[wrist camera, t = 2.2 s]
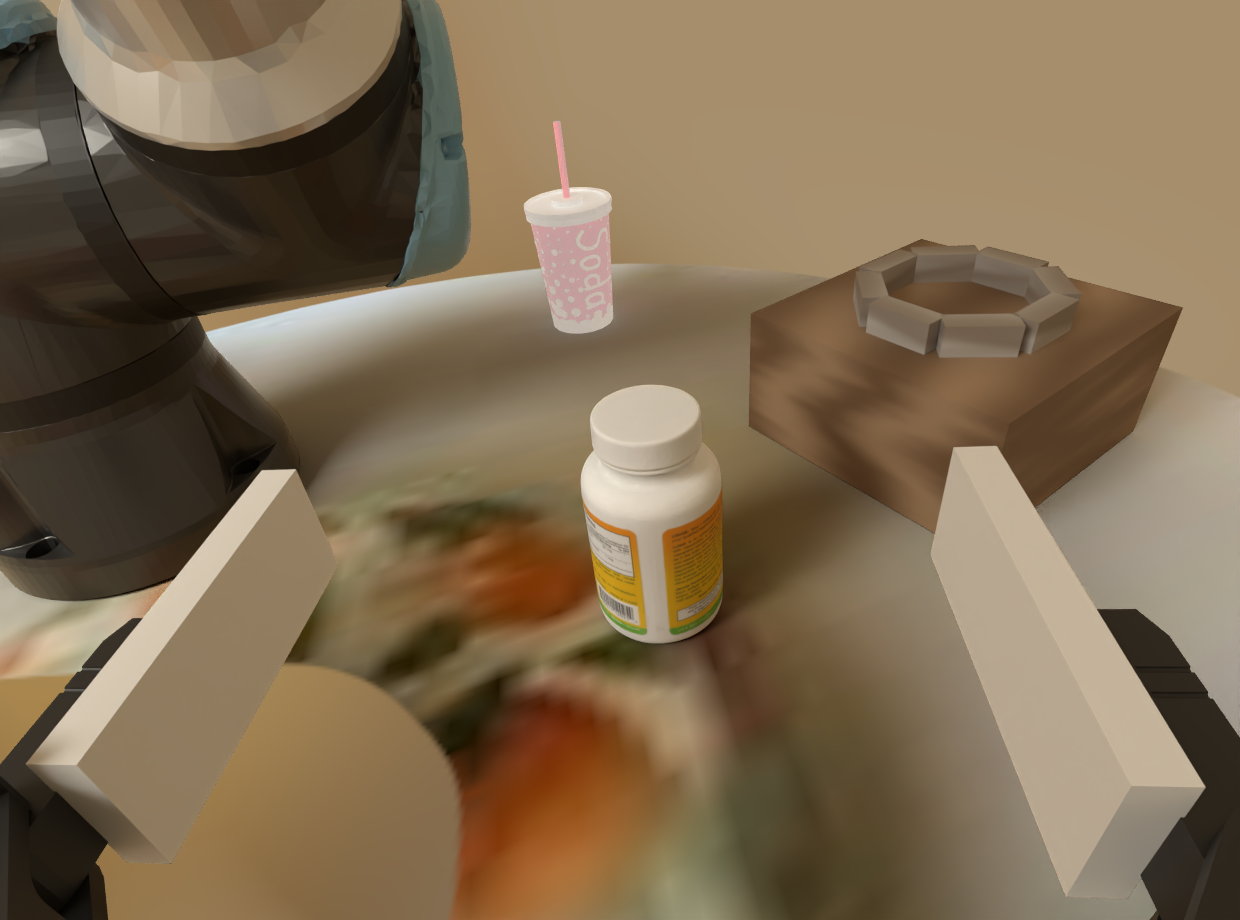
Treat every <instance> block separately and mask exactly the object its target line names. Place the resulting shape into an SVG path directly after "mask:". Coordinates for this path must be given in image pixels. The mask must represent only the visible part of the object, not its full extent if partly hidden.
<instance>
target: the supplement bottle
mask: <svg viewBox="0 0 1240 920" xmlns="http://www.w3.org/2000/svg"><path fill="white" fill-rule="evenodd" d="M590 424H591V435H592V445H593V448H594V451H593V452H592V453H591V454H590V456H589V457H588V459H587V460H586V462H585V464H584V467H583V469H582V473H581V492H582V499H583V505H584V510H585V517H586V523H587V529H588V536H589V542H590V548H591V554H592V560H593V567H594V573H595V579H596V585H597V591H598V597H599V601H600V606H601V609H602V611H603V613H604V615H605V617H606V619H607V620H608V621H609V623H610V624H611V625H612V626H613V627H614V628H615V629H616V630H617V631H619V632H620V633H622V634H623V635H625V636H627V637H629V638H631V639H634V640H637V641H641V642H645V643H670V642H675V641H679V640H683V639H686V638H688V637H690V636H693V635H694V634H696V633H698V632H700V631H701V630H702V629H704V628H705V627H706V626H707V625H708V624H710V622H711V621H712V620H713V619H714V617H715V616H716V614H717V613H718V610H719V608H720V605H721V602H722V593H723V555H722V481H721V471H720V467H719V463H718V461H717V459H716V457H715V456H714V454H713V453H712V451H711V450H710V449H709V448H708V447H707V446H706V445H705V444H704V443H703V442H702V421H701V410H700V407H699V404H698V402H697V401H696V399H695V398H694V397H692V396H691V395H690V394H688V393H687V392H685V391H683V390H681V389H678V388H674V387H670V386H664V385H639V386H632V387H628V388H624V389H621V390H618V391H616V392H614V393H611V394H610V395H608V396H606V397H604V398H603V399H602V400H601V401H599V402H598V403H597V404H596V406H595V407H594V409H593V410H592V413H591V417H590Z"/></svg>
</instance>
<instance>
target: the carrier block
mask: <svg viewBox="0 0 1240 920" xmlns="http://www.w3.org/2000/svg"><path fill="white" fill-rule="evenodd" d="M1048 264H1049V262H1047V261H1043V260H1039V259H1035V258H1032V257H1027V256H1023V255H1020V254H1016V253H1012V252H1008V251H1004V250H999V249H996V248H992V247H986V248H984V249H982V250H980V251H978V249H977V248H976V246H975V245H969V246H946V245H942V244H938V243H934V242H930V241H927V240H923V239H921V240H918V241H916V242H914V243H911V244H909V245H907V246H905V247H902V248H900V249H898V250H895V251H893V252H891V253H889V254H886V255H884V256H882V257H880V258H877V259H875V260H873V261H871V262H868V263H866V264H864V265H861V266H859V267H857V268H854V269H852V270H850V271H848V272H845V273H843V274H841V275H838V276H836V277H834V278H832V279H829V280H827V281H825V282H822V283H820V284H818V285H816V286H813V287H811V288H809V289H807V290H804V291H802V292H800V293H797V294H795V295H793V296H791V297H788V298H786V299H784V300H781V301H779V302H777V303H775V304H772V305H770V306H768V307H766V308H763V309H761V310H759V311H756V312H754V313H752V314H751V343H750V398H749V426H750V427H752V428H753V429H755V430H757V431H759V432H760V433H762V434H764V435H766V436H767V437H769V438H771V439H772V440H774V441H776V442H778V443H779V444H781V445H783V446H785V447H786V448H788V449H790V450H791V451H793V452H795V453H797V454H798V455H800V456H802V457H804V458H805V459H807V460H809V461H810V462H812V463H814V464H816V465H817V466H819V467H821V468H823V469H824V470H826V471H828V472H829V473H831V474H833V475H835V476H836V477H838V478H840V479H842V480H843V481H845V482H847V483H849V484H850V485H852V486H854V487H855V488H857V489H859V490H861V491H862V492H864V493H866V494H868V495H869V496H871V497H873V498H874V499H876V500H878V501H880V502H881V503H883V504H885V505H887V506H888V507H890V508H892V509H893V510H895V511H897V512H899V513H900V514H902V515H904V516H906V517H907V518H909V519H911V520H912V521H914V522H916V523H918V524H919V525H921V526H923V527H925V528H926V529H928V530H930V531H931V532H933V533H935V531H936V527H937V522H938V517H939V513H940V508H941V503H942V499H943V494H944V489H945V485H946V480H947V475H948V471H949V466H950V461H951V457H952V452H953V447H978V446H997V447H998V449H999V451H1000V452H1001V454H1002V455H1003V457H1004V459H1005V460H1006V462H1007V464H1008V465H1009V467H1010V469H1011V470H1012V472H1013V473H1014V475H1015V477H1016V478H1017V480H1018V482H1019V483H1020V485H1021V487H1022V488H1023V490H1024V491H1025V493H1026V495H1027V496H1028V498H1029V500H1030V501H1031V503H1032V504H1033V506H1034V507H1036V506H1037V505H1038V504H1040V503H1041V502H1042V501H1043V500H1045V499H1046V498H1047V497H1049V496H1050V495H1051V494H1053V493H1054V492H1055V491H1056V490H1058V489H1059V488H1060V487H1062V486H1063V485H1064V484H1065V483H1067V482H1068V481H1069V480H1071V479H1072V478H1073V477H1074V476H1076V475H1077V474H1078V473H1080V472H1081V471H1082V470H1083V469H1085V468H1086V467H1087V466H1089V465H1090V464H1091V463H1092V462H1094V461H1095V460H1096V459H1098V458H1099V457H1100V456H1102V455H1103V454H1104V453H1105V452H1107V451H1108V450H1109V449H1111V448H1112V447H1113V446H1114V445H1116V444H1117V443H1118V442H1120V441H1121V440H1122V439H1123V438H1125V437H1126V436H1127V435H1129V434H1130V433H1131V432H1132V431H1133V429H1134V427H1135V424H1136V422H1137V419H1138V417H1139V415H1140V412H1141V410H1142V407H1143V405H1144V402H1145V400H1146V397H1147V395H1148V392H1149V390H1150V387H1151V385H1152V382H1153V380H1154V378H1155V375H1156V373H1157V370H1158V368H1159V365H1160V362H1161V360H1162V357H1163V355H1164V353H1165V350H1166V348H1167V346H1168V343H1169V341H1170V338H1171V335H1172V333H1173V331H1174V328H1175V326H1176V323H1177V321H1178V318H1179V316H1180V313H1181V311H1182V307H1179V306H1174V305H1171V304H1167V303H1163V302H1160V301H1156V300H1152V299H1148V298H1144V297H1140V296H1136V295H1132V294H1129V293H1125V292H1121V291H1117V290H1114V289H1110V288H1106V287H1102V286H1098V285H1095V284H1091V283H1087V282H1083V281H1079V280H1076V279H1072V278H1068V277H1067V276H1066V275H1065V274H1064V273H1063V271H1062V270H1061V269H1060V268H1059V267H1058V266H1056V267H1048Z"/></svg>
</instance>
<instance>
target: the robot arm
mask: <svg viewBox="0 0 1240 920" xmlns="http://www.w3.org/2000/svg"><path fill="white" fill-rule="evenodd" d="M57 17H58V18H56V17H54V16H53V14H52V13H51V12H50V11H49V9H48V8H47V7H46V6H45V5H44V4H43V3H42V2H41V1H39V0H0V570H1V571H2V572H3V574H4V575H5V576H6V577H7V578H8V579H9V581H10V582H11V583H12V584H13V585H14V586H15V587H17V588H18V589H20V590H21V591H23V592H25V593H27V594H30V595H33V596H36V597H40V598H45V599H51V600H84V599H93V598H100V597H106V596H111V595H116V594H121V593H125V592H129V591H132V590H136V589H139V588H143V587H146V586H149V585H152V584H155V583H158V582H160V581H163V580H166V579H168V578H171V577H173V576H175V575H177V576H176V578H175V579H174V580H173V581H172V583H171V584H170V585H169V586H168V588H167V589H166V590H165V591H164V593H163V594H162V595H161V596H160V598H159V599H158V600H157V601H156V602H155V604H154V605H153V606H152V607H151V609H150V610H149V611H148V612H147V614H146V615H145V616H144V617H143V618H132V619H131V620H130V621H128V622H127V623H126V624H125V625H123V626H122V627H121V628H119V629H118V630H117V631H116V632H114V633H113V634H112V635H110V636H109V637H108V638H107V639H105V640H104V641H103V642H102V643H101V644H100V646H99V647H98V648H97V649H96V650H95V652H94V653H93V654H92V655H91V656H90V658H89V659H88V660H87V661H86V662H85V664H84V665H83V666H82V671H81V672H77V673H76V674H75V676H74V677H73V678H72V679H71V680H70V682H69V683H68V684H67V685H66V686H65V691H64V693H60V694H59V695H58V696H57V697H56V698H55V700H54V701H53V702H52V703H51V705H49V707H48V708H47V709H46V710H45V711H44V713H43V714H42V715H41V716H40V717H39V719H38V720H37V721H36V722H35V724H34V725H33V726H32V727H31V728H30V729H29V731H28V732H27V733H26V735H24V737H23V738H22V739H21V740H20V741H19V743H18V744H17V745H16V746H15V747H14V749H13V750H12V751H11V752H10V754H9V755H8V756H7V757H6V758H5V760H4V761H3V762H2V763H1V764H0V920H108V914H107V904H106V893H105V883H104V876H103V874H102V872H101V870H100V867H99V866H98V865H97V864H96V863H95V862H96V861H97V859H98V857H99V856H100V854H101V853H102V851H103V850H104V848H105V847H106V845H107V844H108V845H109V846H111V847H112V848H113V849H114V850H115V851H116V852H117V853H118V854H119V855H120V856H121V857H122V858H123V859H124V860H125V861H126V862H134V863H162V864H171V863H172V862H173V860H174V858H175V856H176V855H177V853H178V851H179V849H180V848H181V846H182V844H183V842H184V840H185V839H186V837H187V835H188V833H189V831H190V830H191V828H192V826H193V824H194V823H195V821H196V819H197V817H198V815H199V814H200V812H201V810H202V808H203V806H204V805H205V802H206V801H207V799H208V797H209V796H210V794H211V792H212V790H213V789H214V787H215V785H216V783H217V781H218V780H219V778H220V776H221V774H222V773H223V771H224V769H225V767H226V765H227V764H228V762H229V760H230V758H231V756H232V754H233V753H234V751H235V749H236V747H237V746H238V744H239V742H240V740H241V739H242V737H243V735H244V733H245V731H246V729H247V728H248V726H249V724H250V722H251V721H252V719H253V717H254V715H255V714H256V712H257V710H258V708H259V706H260V705H261V703H262V701H263V699H264V697H265V696H266V694H267V692H268V690H269V688H270V687H271V685H272V683H273V681H274V679H275V678H276V676H277V674H278V672H279V671H280V669H281V667H282V665H283V663H284V662H285V660H286V658H287V656H288V655H289V653H290V651H291V649H292V647H293V646H294V644H295V642H296V640H297V638H298V637H299V635H300V633H301V631H302V629H303V628H304V626H305V624H306V622H307V621H308V619H309V617H310V615H311V613H312V612H313V610H314V608H315V606H316V604H317V603H318V601H319V599H320V597H321V596H322V594H323V592H324V590H325V588H326V587H327V585H328V583H329V581H330V579H331V578H332V576H333V574H334V572H335V571H336V569H337V567H338V565H339V564H338V562H337V560H336V557H335V555H334V553H333V551H332V548H331V546H330V544H329V542H328V540H327V537H326V535H325V533H324V531H323V528H322V526H321V524H320V522H319V520H318V517H317V515H316V513H315V511H314V508H313V506H312V504H311V502H310V499H309V497H308V495H307V493H306V491H305V488H304V486H303V484H302V482H301V479H300V477H299V475H298V471H299V454H298V451H297V449H296V446H295V444H294V442H293V440H292V437H291V435H290V433H289V431H288V429H287V426H286V424H285V422H284V421H283V419H282V418H281V416H280V415H279V414H278V412H277V411H276V410H275V409H274V408H273V407H272V406H271V405H270V404H269V403H268V402H267V401H266V400H265V399H264V398H263V397H262V396H261V395H260V394H259V393H258V392H257V391H256V390H255V389H254V388H253V387H252V386H251V385H250V384H249V383H248V382H247V381H246V379H245V378H244V377H243V376H242V375H241V374H240V373H239V372H238V371H237V370H236V369H235V368H234V367H233V366H232V365H231V364H230V363H229V362H228V361H227V360H226V359H225V358H224V357H223V356H222V355H221V354H220V353H219V352H218V351H217V350H216V349H215V348H214V347H213V345H212V344H211V342H210V341H209V339H208V337H207V335H206V333H205V331H204V329H203V327H202V325H201V323H200V321H199V319H198V317H197V316H200V315H207V314H211V313H216V312H222V311H228V310H234V309H240V308H245V307H252V306H258V305H265V304H271V303H277V302H284V301H291V300H297V299H304V298H311V297H317V296H324V295H330V294H337V293H343V292H350V291H356V290H362V289H369V288H375V287H382V286H386V287H397V286H399V285H401V284H403V283H405V282H406V281H407V280H410V279H414V278H418V277H423V276H428V275H432V274H437V273H441V272H445V271H448V270H450V269H452V268H453V267H454V266H456V265H457V264H458V263H459V262H460V261H461V260H462V259H463V257H464V255H465V254H466V252H467V249H468V246H469V242H470V232H471V211H470V194H469V193H470V192H469V179H468V170H467V160H466V155H465V150H464V148H463V146H462V142H463V131H462V117H461V107H460V100H459V93H458V86H457V81H456V74H455V69H454V63H453V56H452V51H451V46H450V41H449V36H448V32H447V28H446V24H445V20H444V17H443V14H442V11H441V8H440V6H439V4H438V3H437V2H436V1H435V0H61V2H60V6H59V11H58V16H57ZM930 555H931V558H932V560H933V563H934V565H935V568H936V570H937V573H938V575H939V578H940V580H941V583H942V586H943V588H944V591H945V593H946V596H947V598H948V601H949V603H950V606H951V608H952V611H953V613H954V616H955V618H956V621H957V623H958V626H959V629H960V631H961V634H962V636H963V639H964V641H965V644H966V646H967V649H968V651H969V654H970V656H971V659H972V661H973V664H974V666H975V669H976V671H977V674H978V677H979V679H980V682H981V684H982V687H983V689H984V692H985V694H986V697H987V699H988V702H989V704H990V707H991V709H992V712H993V714H994V717H995V720H996V722H997V725H998V727H999V730H1000V732H1001V735H1002V737H1003V740H1004V742H1005V745H1006V747H1007V750H1008V752H1009V755H1010V757H1011V760H1012V762H1013V765H1014V768H1015V770H1016V773H1017V775H1018V778H1019V780H1020V783H1021V785H1022V788H1023V790H1024V793H1025V795H1026V798H1027V800H1028V803H1029V805H1030V808H1031V811H1032V813H1033V816H1034V818H1035V821H1036V823H1037V826H1038V828H1039V831H1040V833H1041V836H1042V838H1043V841H1044V843H1045V846H1046V848H1047V851H1048V853H1049V856H1050V859H1051V861H1052V864H1053V866H1054V869H1055V871H1056V874H1057V876H1058V879H1059V881H1060V884H1061V886H1062V889H1063V891H1064V894H1065V896H1066V897H1076V898H1103V899H1128V897H1129V896H1130V894H1131V893H1132V892H1133V890H1134V889H1135V887H1136V886H1137V884H1138V883H1139V882H1140V880H1141V879H1142V880H1143V882H1144V884H1145V886H1146V888H1147V890H1148V892H1149V894H1150V896H1151V898H1152V901H1153V903H1154V905H1155V907H1156V909H1157V911H1156V912H1155V914H1154V915H1153V916H1152V918H1151V919H1150V920H1240V737H1239V736H1238V734H1237V733H1236V732H1235V730H1234V729H1233V727H1232V726H1231V724H1230V723H1229V721H1228V720H1227V719H1226V717H1225V716H1224V714H1223V713H1222V711H1221V710H1220V708H1219V707H1218V706H1217V704H1216V703H1215V701H1214V700H1213V699H1210V698H1209V697H1208V691H1207V690H1206V688H1205V687H1204V685H1203V684H1202V682H1201V681H1200V680H1199V678H1198V677H1197V675H1196V674H1195V673H1192V672H1191V670H1190V665H1189V664H1188V662H1187V661H1186V659H1185V658H1184V657H1183V655H1182V654H1181V652H1180V651H1179V649H1178V648H1177V646H1176V645H1175V644H1174V642H1173V641H1172V639H1171V638H1170V636H1169V635H1168V634H1166V633H1165V632H1164V631H1163V630H1161V629H1160V628H1159V627H1158V626H1156V625H1155V624H1154V623H1153V622H1151V621H1150V620H1149V619H1148V618H1146V617H1145V616H1144V615H1143V614H1141V613H1140V612H1139V611H1138V610H1136V609H1096V607H1095V606H1094V604H1093V602H1092V601H1091V599H1090V598H1089V596H1088V594H1087V593H1086V591H1085V589H1084V588H1083V586H1082V584H1081V583H1080V581H1079V580H1078V578H1077V576H1076V575H1075V573H1074V571H1073V570H1072V568H1071V567H1070V565H1069V563H1068V562H1067V560H1066V558H1065V557H1064V555H1063V553H1062V552H1061V550H1060V549H1059V547H1058V545H1057V544H1056V542H1055V540H1054V539H1053V537H1052V536H1051V534H1050V532H1049V531H1048V529H1047V527H1046V526H1045V524H1044V522H1043V521H1042V519H1041V518H1040V516H1039V514H1038V513H1037V511H1036V509H1035V508H1034V506H1033V504H1032V503H1031V501H1030V500H1029V498H1028V496H1027V495H1026V493H1025V491H1024V490H1023V488H1022V487H1021V485H1020V483H1019V482H1018V480H1017V478H1016V477H1015V475H1014V473H1013V472H1012V470H1011V469H1010V467H1009V465H1008V464H1007V462H1006V460H1005V459H1004V457H1003V455H1002V454H1001V452H1000V451H999V449H998V447H997V446H978V447H953V452H952V457H951V461H950V466H949V471H948V475H947V480H946V485H945V489H944V494H943V499H942V503H941V508H940V513H939V517H938V522H937V527H936V531H935V536H934V541H933V545H932V550H931V554H930Z"/></svg>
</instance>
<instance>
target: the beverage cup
mask: <svg viewBox="0 0 1240 920" xmlns="http://www.w3.org/2000/svg"><path fill="white" fill-rule="evenodd" d="M553 124H554V133H555V140H556V147H557V154H558V162H559V169H560V176H561V183H562V189H559V190H554V191H549V192H546V193H542V194H539V195H537V196H535V197H532V198H530V199H529V200H528V201H527V202H525V204H524V210H525V214H526V218H527V221H528V222H530V223H531V226H532V231H533V235H534V239H535V244H536V248H537V252H538V257H539V261H540V266H541V270H542V274H543V279H544V283H545V287H546V292H547V296H548V300H549V305H550V309H551V314H552V318H553V322H554V327H556V328H557V329H558V330H560V331H563V332H566V333H587V332H593V331H596V330H599V329H602V328H604V327H605V326H607V325H608V324H610V323H611V321H612V319H613V300H612V277H611V255H610V230H609V212H610V211H611V210H612V207H611V202H612V199H611V196H610V193H609V192H607V191H605V190H602V189H597V188H589V187H578V188H569V184H568V176H567V169H566V162H565V154H564V146H563V139H562V132H561V123H560V121H554V122H553Z"/></svg>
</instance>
